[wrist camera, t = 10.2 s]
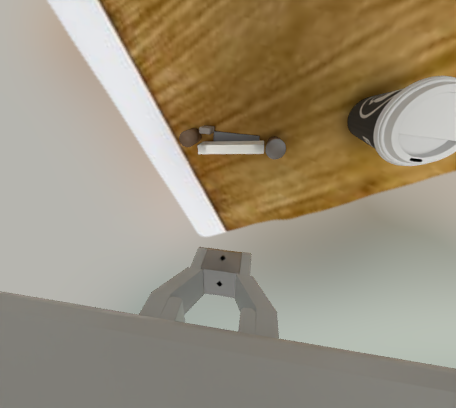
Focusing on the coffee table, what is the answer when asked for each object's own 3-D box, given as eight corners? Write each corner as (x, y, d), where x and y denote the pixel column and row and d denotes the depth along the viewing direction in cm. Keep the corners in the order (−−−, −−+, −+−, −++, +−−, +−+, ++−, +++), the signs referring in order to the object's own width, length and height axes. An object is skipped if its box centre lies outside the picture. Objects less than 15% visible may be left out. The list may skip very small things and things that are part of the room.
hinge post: (266, 133, 38) (267, 138, 33) (284, 135, 37) (287, 140, 33) (264, 151, 39) (264, 158, 35) (281, 153, 39) (283, 160, 34)
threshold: (214, 131, 39) (213, 131, 39) (259, 136, 38) (259, 136, 38) (213, 143, 40) (213, 143, 40) (257, 148, 39) (257, 148, 39)
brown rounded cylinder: (187, 123, 39) (178, 126, 35) (214, 126, 39) (208, 129, 34) (188, 141, 41) (179, 146, 37) (213, 144, 40) (207, 149, 36)
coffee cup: (325, 129, 36) (362, 144, 23) (368, 73, 31) (444, 51, 18) (368, 155, 37) (427, 185, 24) (414, 105, 32) (520, 106, 19)
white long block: (263, 140, 38) (264, 144, 34) (263, 149, 38) (263, 153, 35) (203, 141, 39) (197, 145, 36) (203, 149, 40) (198, 154, 37)
